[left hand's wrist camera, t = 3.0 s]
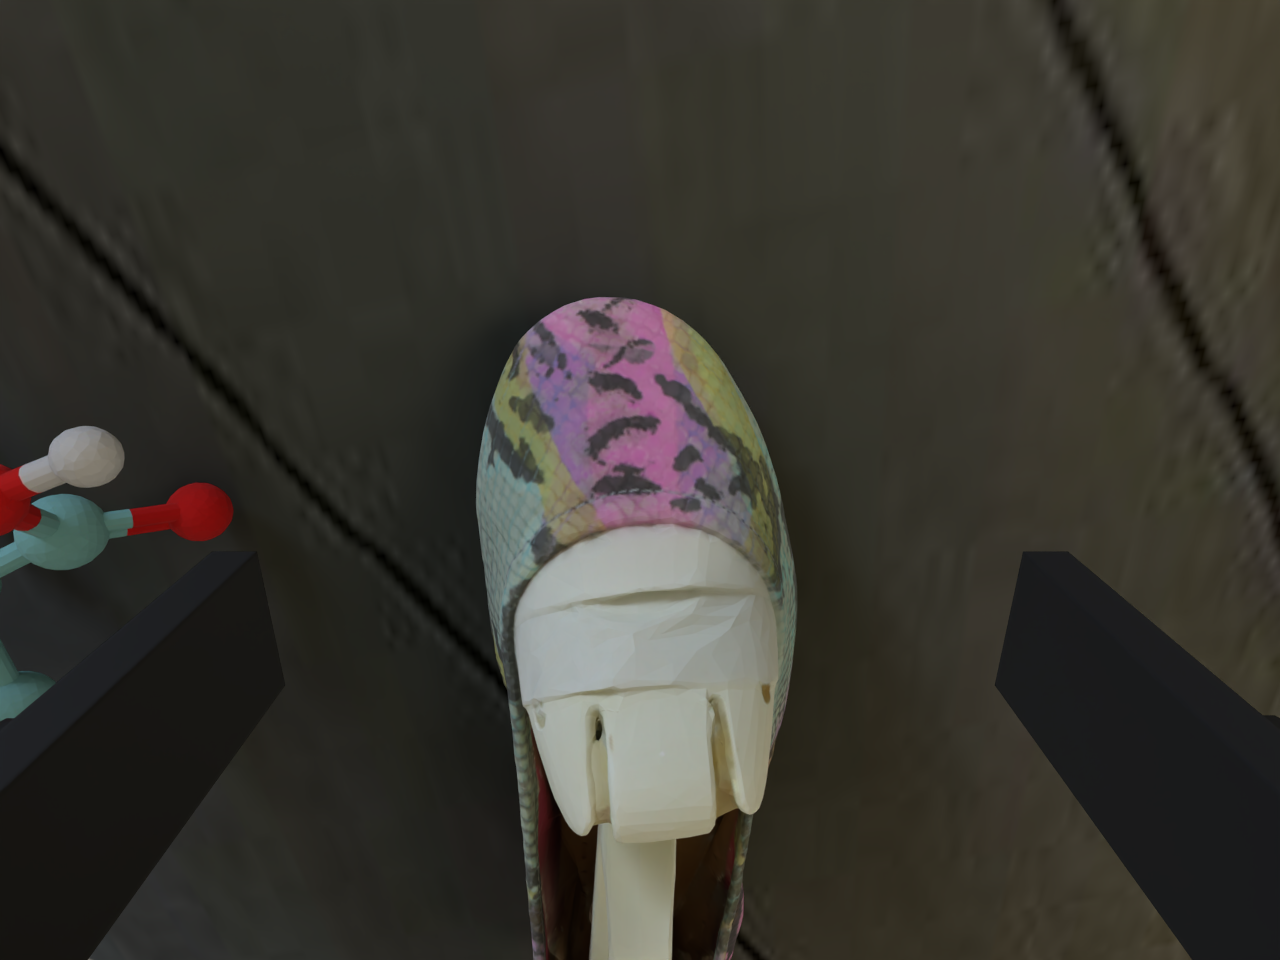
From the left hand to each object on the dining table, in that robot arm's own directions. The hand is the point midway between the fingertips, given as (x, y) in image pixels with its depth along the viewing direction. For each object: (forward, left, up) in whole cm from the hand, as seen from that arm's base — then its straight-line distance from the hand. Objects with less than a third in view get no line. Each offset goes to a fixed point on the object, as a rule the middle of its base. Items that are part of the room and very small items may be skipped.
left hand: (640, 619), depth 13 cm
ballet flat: (+5, +5, -8) cm, 11 cm away
